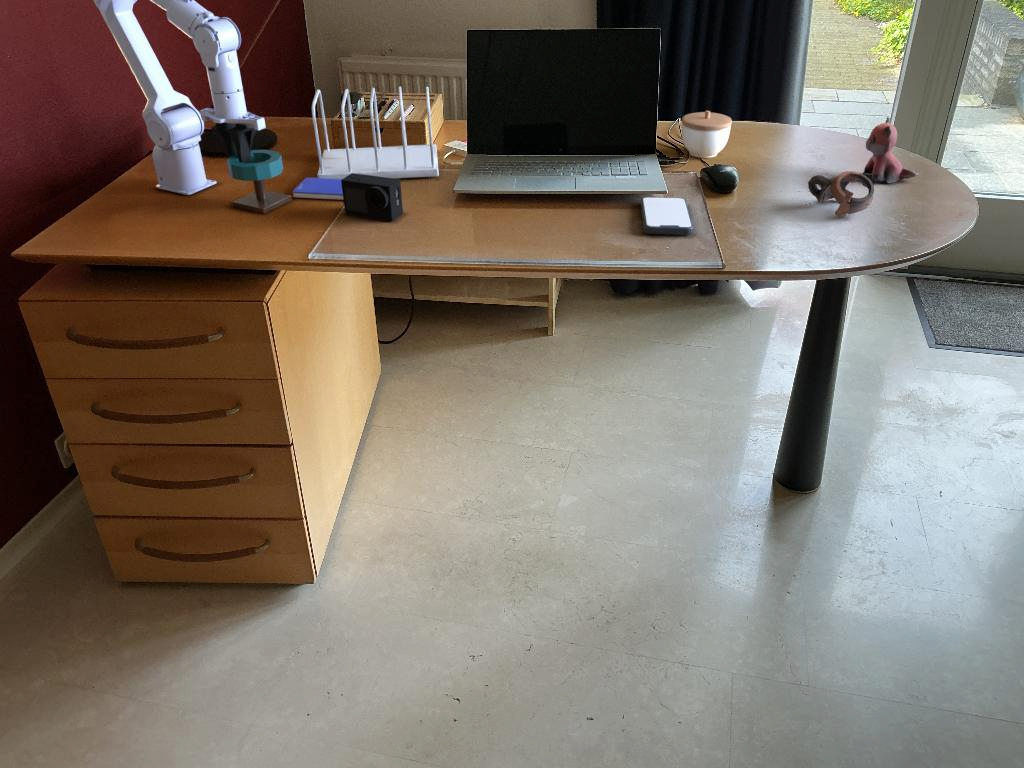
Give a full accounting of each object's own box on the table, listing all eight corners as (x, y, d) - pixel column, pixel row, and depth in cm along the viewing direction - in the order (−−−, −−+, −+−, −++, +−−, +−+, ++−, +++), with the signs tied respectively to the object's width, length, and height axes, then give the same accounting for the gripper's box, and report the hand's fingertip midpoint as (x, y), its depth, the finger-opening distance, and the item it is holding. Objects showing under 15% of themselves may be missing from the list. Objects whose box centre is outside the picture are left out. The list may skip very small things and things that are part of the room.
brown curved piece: (863, 203, 167) (883, 175, 160) (854, 239, 163) (873, 212, 156) (804, 182, 169) (821, 153, 161) (793, 217, 165) (809, 189, 157)
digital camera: (341, 217, 163) (336, 181, 159) (355, 207, 167) (351, 172, 163) (389, 224, 160) (386, 188, 156) (403, 214, 164) (400, 178, 160)
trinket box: (669, 153, 192) (672, 111, 187) (698, 143, 198) (702, 101, 193) (708, 164, 186) (713, 121, 181) (737, 153, 192) (742, 111, 187)
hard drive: (292, 190, 170) (352, 193, 169) (307, 176, 177) (364, 179, 175) (293, 198, 171) (353, 201, 170) (308, 183, 178) (365, 186, 176)
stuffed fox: (920, 187, 173) (935, 128, 166) (862, 185, 175) (875, 126, 168) (911, 175, 179) (926, 117, 173) (855, 172, 181) (868, 115, 174)
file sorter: (436, 152, 194) (432, 81, 186) (439, 178, 180) (434, 103, 171) (324, 157, 192) (315, 85, 184) (318, 184, 178) (307, 107, 169)
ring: (219, 175, 164) (216, 161, 162) (255, 160, 171) (252, 147, 170) (258, 184, 160) (255, 169, 158) (293, 168, 167) (291, 154, 166)
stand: (232, 206, 168) (227, 177, 164) (261, 193, 174) (256, 164, 170) (263, 213, 164) (258, 183, 161) (291, 200, 170) (287, 170, 167)
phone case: (639, 204, 167) (644, 235, 154) (640, 196, 167) (644, 227, 153) (685, 205, 167) (693, 236, 153) (686, 197, 166) (694, 228, 152)
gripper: (182, 90, 159) (197, 162, 166) (240, 99, 153) (253, 173, 161) (210, 81, 164) (224, 151, 172) (267, 90, 158) (279, 162, 166)
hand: (240, 161), depth 166 cm, fingers closed on ring, 2 cm apart
